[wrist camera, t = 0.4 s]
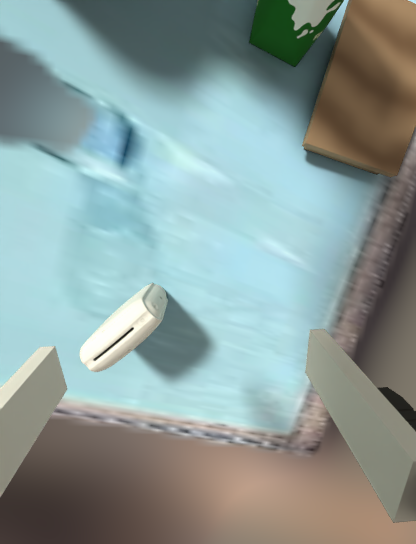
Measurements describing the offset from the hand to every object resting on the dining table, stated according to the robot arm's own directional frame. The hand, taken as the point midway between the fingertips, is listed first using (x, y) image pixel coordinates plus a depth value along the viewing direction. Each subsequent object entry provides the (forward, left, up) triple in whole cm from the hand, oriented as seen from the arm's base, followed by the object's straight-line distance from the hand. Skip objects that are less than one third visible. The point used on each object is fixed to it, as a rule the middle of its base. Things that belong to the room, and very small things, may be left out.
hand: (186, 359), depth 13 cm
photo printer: (+5, -8, -26) cm, 27 cm away
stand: (-25, +26, -25) cm, 44 cm away
